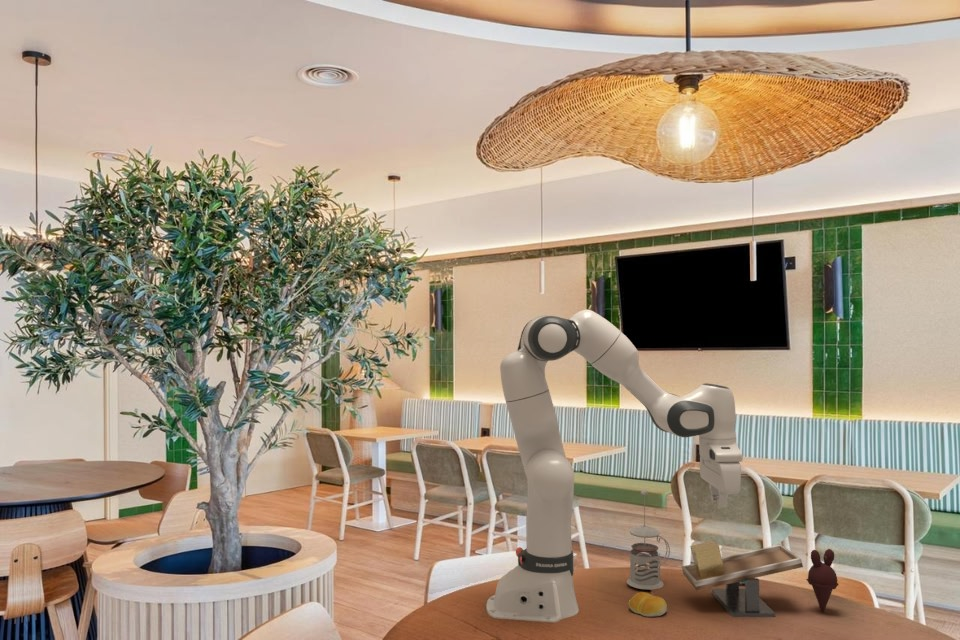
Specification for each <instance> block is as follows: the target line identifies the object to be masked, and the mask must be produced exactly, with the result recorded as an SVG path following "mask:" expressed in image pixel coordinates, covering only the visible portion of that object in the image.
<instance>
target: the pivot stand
mask: <svg viewBox="0 0 960 640" xmlns="http://www.w3.org/2000/svg"><path fill="white" fill-rule="evenodd" d="M711 594H712V596H713V597H714V598H715V599H716V600H717V602H718V603H719V604H720V605H721V606H722V607H723V608H724V610H726V612H727V613H728V614H729V615H730V616H731V617H733V618H776V616H777V615H776V612H775V611H774V610H773V609H772V608H771V607H769V605H767V603H766V602H764V601H763V599H762V598H760V578H759V577H757V578H745V583H744V588H740V582H734V583H730V584H725V588H711Z"/></svg>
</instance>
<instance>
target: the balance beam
mask: <svg viewBox="0 0 960 640" xmlns="http://www.w3.org/2000/svg"><path fill="white" fill-rule="evenodd" d="M721 557H722V556H721ZM722 562H723V566H724V570H725V574H721V575H717V576H712V577H708V578H703V579H701V578H700V577H699V576H698V574H697V573H696V569H695V565H694V563H692V564H688V565H682V566H681V569H682V574H683V576H684V577H685V578H686V579H687V580H688V582H689V583H690V584H691V586H693V588H694V589H695V590H696V591H697V592H698V591H702V590H707V589H713V588H715V587H716V588H717V587H721V586H726V584H730V583H734V582H739V581H743V580H745V578H761V577H765V576H770V575H773V574H778V573H783V572H787V571H792V570H797V569H800V568H804V565H803V561H802V558H800V557H799V556H798V555H796V554H795V553H793V552H792V551H791V550H790V549H788V548H787V547H785V546H783V545H782V544H777V545H776V544H775V545H772V546H767V547H763V548H759V549H753V550H750V551H745V552H741V553H736V554H731V555H727V556H723V557H722ZM739 583H740V582H739Z"/></svg>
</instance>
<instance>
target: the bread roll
mask: <svg viewBox="0 0 960 640" xmlns="http://www.w3.org/2000/svg"><path fill="white" fill-rule="evenodd" d="M628 607H629V609H630V610H631V611H632V612H633V613H635V614H637V615H640V616H643V617H647V618H648V617H649V618H652V617H653V618H654V617H660V616H662V615H664V614H665V613H667V611H668V605H667V602H666V600H665V599H664V598H662V597H660V596H656V595H655V596H654V595H652V593H651V594H650V593H649V592H646V591H645V592H644V591H640V592H637V593H635V594H634V595H633V596H632V597H631V598H630V599H629V600H628Z"/></svg>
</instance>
